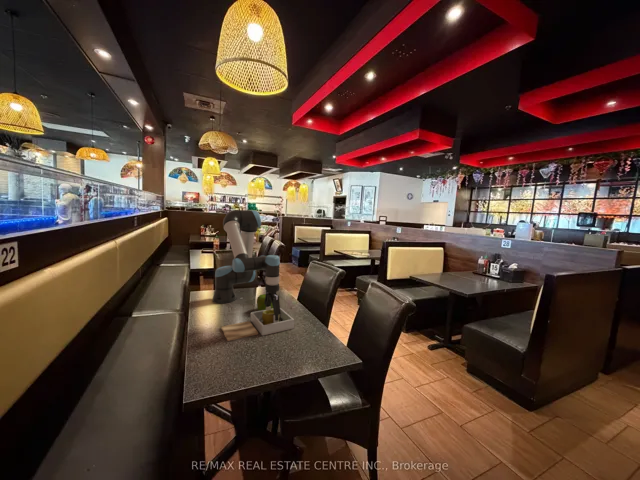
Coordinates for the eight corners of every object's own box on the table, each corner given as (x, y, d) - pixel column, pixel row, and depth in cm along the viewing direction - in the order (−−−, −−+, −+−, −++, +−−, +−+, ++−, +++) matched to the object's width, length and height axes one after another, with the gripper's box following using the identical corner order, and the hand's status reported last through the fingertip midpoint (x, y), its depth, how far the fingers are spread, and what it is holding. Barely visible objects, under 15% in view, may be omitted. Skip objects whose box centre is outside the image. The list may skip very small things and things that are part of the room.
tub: (250, 320, 147) (250, 312, 147) (279, 315, 157) (279, 307, 156) (262, 335, 131) (262, 326, 130) (294, 328, 140) (294, 319, 139)
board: (221, 328, 137) (221, 326, 136) (249, 323, 145) (249, 320, 144) (227, 341, 124) (227, 338, 124) (257, 334, 132) (257, 332, 132)
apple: (273, 306, 170) (273, 290, 169) (275, 312, 160) (276, 295, 159) (256, 308, 167) (256, 291, 166) (257, 314, 157) (257, 297, 155)
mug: (277, 328, 135) (273, 309, 137) (260, 331, 137) (257, 312, 139) (286, 323, 147) (283, 305, 148) (270, 326, 149) (267, 309, 151)
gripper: (258, 279, 149) (258, 315, 151) (273, 290, 129) (273, 331, 131) (271, 277, 153) (270, 313, 155) (287, 288, 133) (286, 328, 135)
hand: (271, 321), depth 143 cm, fingers closed on mug, 11 cm apart
